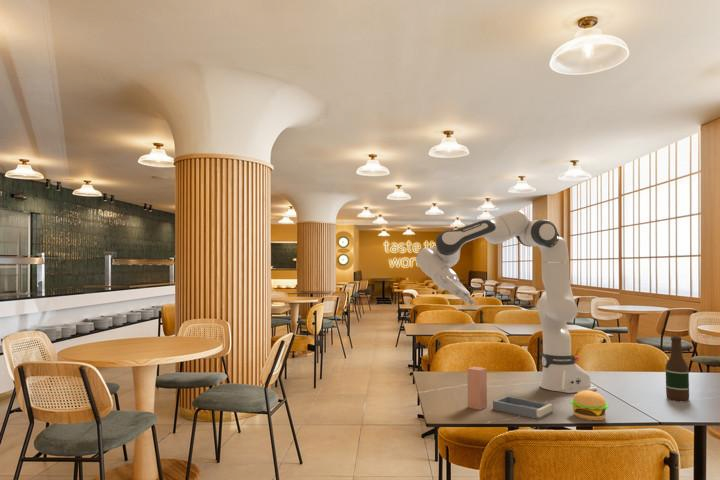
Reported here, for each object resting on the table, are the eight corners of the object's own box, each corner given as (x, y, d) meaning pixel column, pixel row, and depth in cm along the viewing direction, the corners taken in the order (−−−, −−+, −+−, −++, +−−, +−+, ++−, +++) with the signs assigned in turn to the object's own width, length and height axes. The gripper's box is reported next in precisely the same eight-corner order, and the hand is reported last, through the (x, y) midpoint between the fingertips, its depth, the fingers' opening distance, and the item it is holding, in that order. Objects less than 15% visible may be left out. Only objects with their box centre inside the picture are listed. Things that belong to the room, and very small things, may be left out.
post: (467, 407, 188) (467, 368, 189) (474, 404, 192) (474, 366, 192) (480, 409, 185) (479, 370, 185) (486, 407, 188) (486, 368, 189)
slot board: (492, 409, 185) (492, 401, 185) (506, 403, 193) (506, 395, 193) (540, 419, 173) (539, 410, 173) (552, 412, 181) (552, 404, 181)
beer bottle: (686, 397, 202) (685, 335, 203) (692, 402, 195) (690, 338, 196) (664, 395, 205) (662, 334, 206) (668, 400, 197) (667, 337, 198)
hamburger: (613, 416, 177) (612, 390, 178) (603, 424, 168) (602, 397, 169) (577, 409, 185) (576, 385, 186) (565, 417, 176) (565, 391, 176)
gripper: (443, 268, 200) (469, 293, 193) (458, 277, 218) (481, 300, 211) (432, 280, 201) (457, 305, 194) (447, 288, 218) (471, 311, 212)
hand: (470, 302), depth 203 cm, fingers open, 8 cm apart
